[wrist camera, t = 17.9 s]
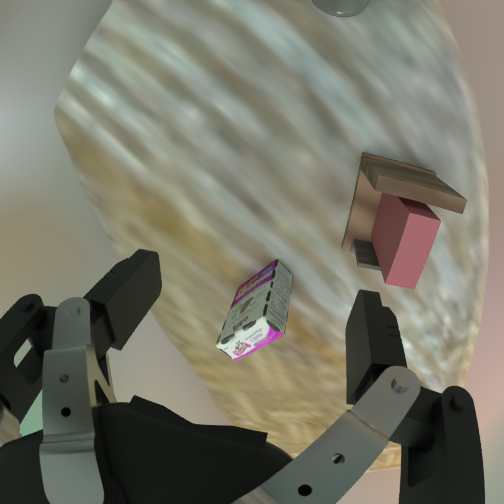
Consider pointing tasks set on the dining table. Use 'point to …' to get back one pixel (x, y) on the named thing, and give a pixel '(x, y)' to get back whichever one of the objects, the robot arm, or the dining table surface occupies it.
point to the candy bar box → (257, 312)
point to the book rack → (395, 183)
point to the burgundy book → (403, 238)
